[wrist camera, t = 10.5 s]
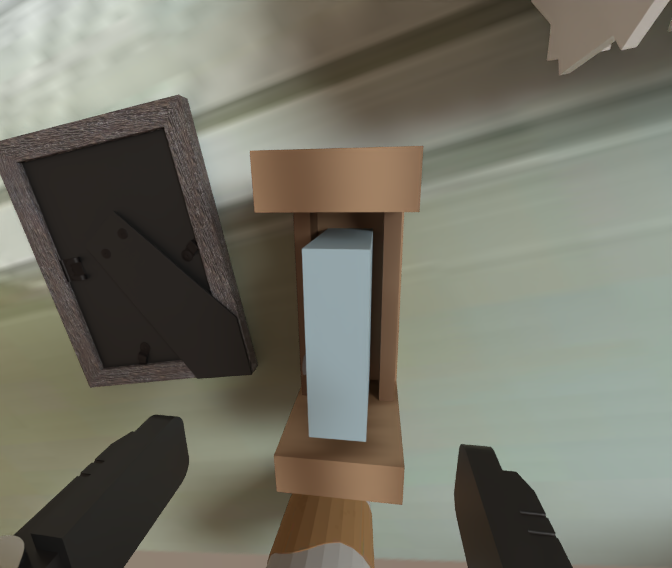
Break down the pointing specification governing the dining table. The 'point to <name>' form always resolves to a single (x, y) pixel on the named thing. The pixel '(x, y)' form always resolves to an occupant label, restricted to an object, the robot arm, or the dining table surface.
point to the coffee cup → (324, 534)
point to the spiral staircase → (595, 27)
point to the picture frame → (131, 244)
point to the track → (387, 222)
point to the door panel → (338, 331)
